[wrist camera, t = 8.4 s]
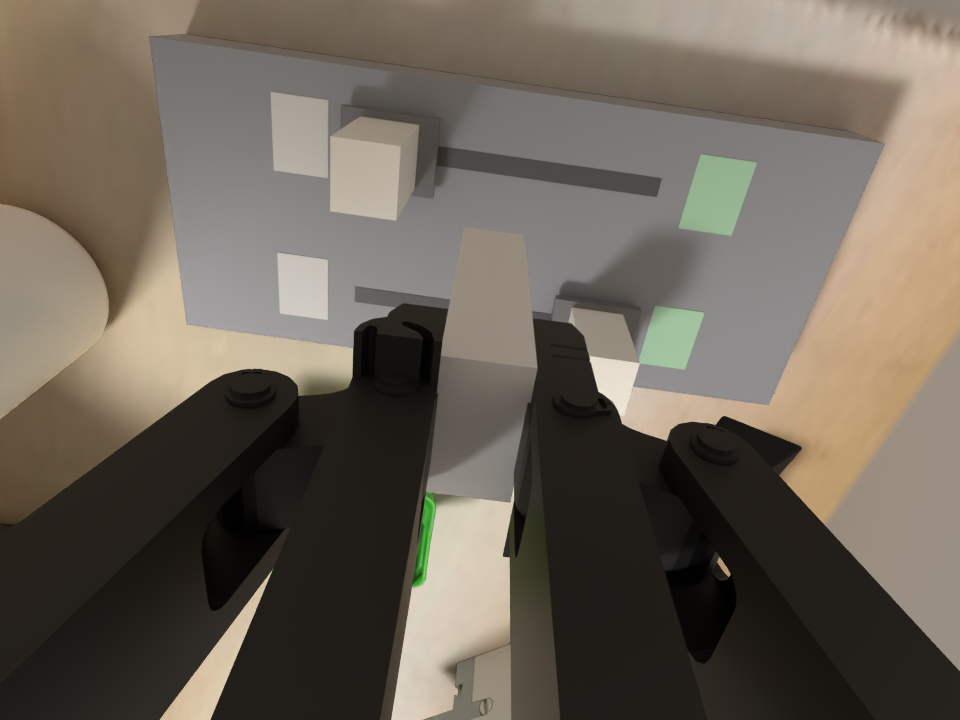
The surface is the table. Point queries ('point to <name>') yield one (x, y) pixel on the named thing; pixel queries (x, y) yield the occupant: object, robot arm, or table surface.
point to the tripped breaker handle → (381, 161)
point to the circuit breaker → (482, 688)
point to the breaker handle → (605, 342)
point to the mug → (43, 303)
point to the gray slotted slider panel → (503, 207)
